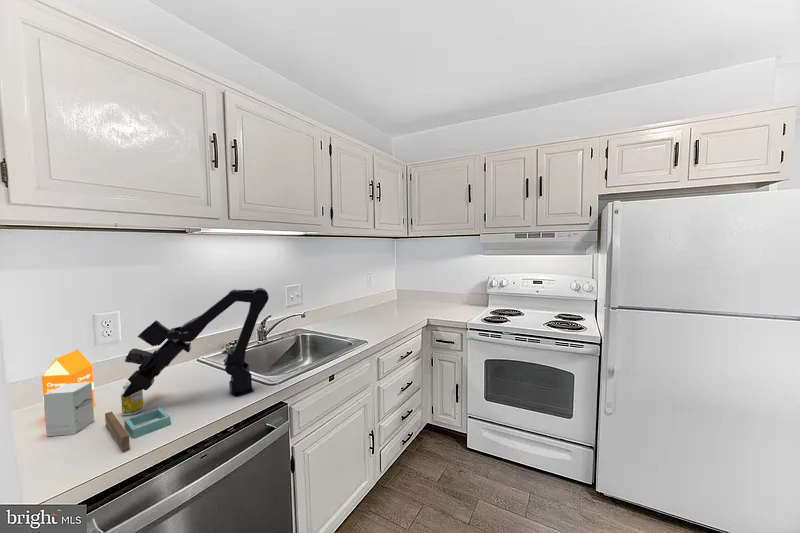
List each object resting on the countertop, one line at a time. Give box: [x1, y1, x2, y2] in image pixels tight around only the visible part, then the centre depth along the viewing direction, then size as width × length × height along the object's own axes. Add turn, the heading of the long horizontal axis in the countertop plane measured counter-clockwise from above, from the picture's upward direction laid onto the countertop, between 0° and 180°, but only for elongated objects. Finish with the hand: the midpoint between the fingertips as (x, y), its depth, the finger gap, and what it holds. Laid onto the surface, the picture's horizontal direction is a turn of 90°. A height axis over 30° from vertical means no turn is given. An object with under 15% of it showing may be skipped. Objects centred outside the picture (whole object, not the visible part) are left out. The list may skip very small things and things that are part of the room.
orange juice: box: [41, 349, 96, 413], centre depth 102 cm, size 8×9×20 cm
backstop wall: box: [104, 411, 131, 453], centre depth 90 cm, size 2×20×4 cm, turn 52°
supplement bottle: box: [120, 381, 145, 416], centre depth 103 cm, size 5×5×10 cm
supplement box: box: [43, 382, 95, 437], centre depth 94 cm, size 7×7×13 cm
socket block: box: [123, 406, 172, 439], centre depth 95 cm, size 9×9×2 cm
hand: (126, 393), depth 103 cm, fingers closed on supplement bottle, 5 cm apart
